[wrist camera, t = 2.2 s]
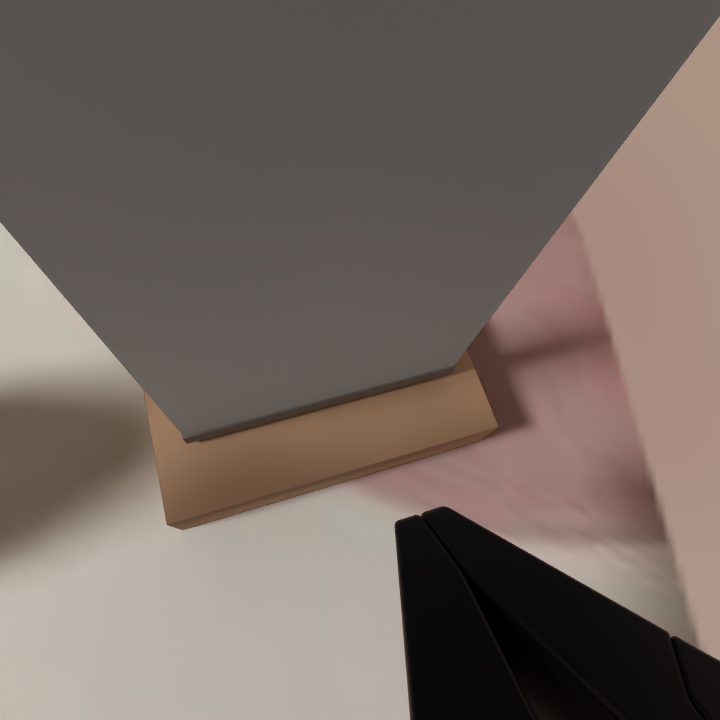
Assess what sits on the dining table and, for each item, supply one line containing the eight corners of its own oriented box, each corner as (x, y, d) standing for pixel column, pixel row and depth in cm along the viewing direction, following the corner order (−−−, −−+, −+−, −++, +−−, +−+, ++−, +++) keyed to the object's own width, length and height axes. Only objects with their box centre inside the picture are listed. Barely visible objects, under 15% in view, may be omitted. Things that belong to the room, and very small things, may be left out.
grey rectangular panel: (449, 374, 16) (1007, -348, 4) (187, 444, 15) (-599, -447, 2) (437, 343, 17) (902, -415, 4) (180, 408, 15) (-516, -547, 2)
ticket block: (478, 441, 18) (498, 426, 16) (182, 530, 16) (166, 524, 14) (387, 208, 21) (395, 174, 19) (131, 256, 19) (114, 223, 17)
